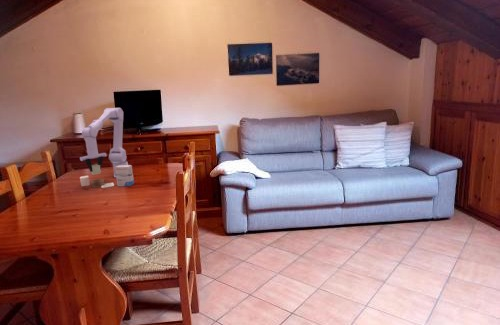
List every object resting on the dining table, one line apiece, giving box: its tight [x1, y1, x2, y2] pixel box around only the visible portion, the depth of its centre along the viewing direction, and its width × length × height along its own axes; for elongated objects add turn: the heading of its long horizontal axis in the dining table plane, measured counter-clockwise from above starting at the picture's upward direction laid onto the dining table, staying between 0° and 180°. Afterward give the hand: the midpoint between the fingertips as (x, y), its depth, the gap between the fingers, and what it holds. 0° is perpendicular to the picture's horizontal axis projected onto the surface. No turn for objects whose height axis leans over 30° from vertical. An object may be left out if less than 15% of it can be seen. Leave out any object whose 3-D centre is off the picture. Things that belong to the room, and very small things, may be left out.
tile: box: [100, 182, 115, 189], centre depth 204 cm, size 7×7×1 cm
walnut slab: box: [90, 178, 106, 189], centre depth 205 cm, size 7×7×3 cm
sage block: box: [89, 163, 102, 176], centre depth 204 cm, size 4×4×5 cm
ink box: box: [115, 164, 135, 187], centre depth 202 cm, size 8×5×12 cm, turn 84°
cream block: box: [79, 175, 91, 187], centre depth 208 cm, size 4×4×5 cm
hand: (95, 170), depth 203 cm, fingers closed on sage block, 4 cm apart
